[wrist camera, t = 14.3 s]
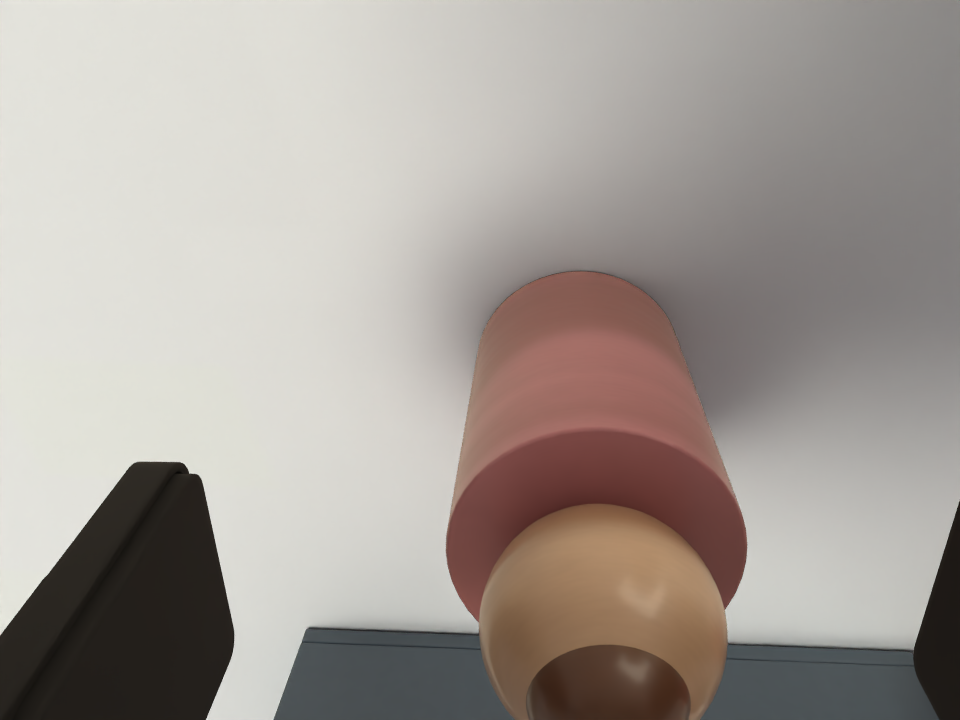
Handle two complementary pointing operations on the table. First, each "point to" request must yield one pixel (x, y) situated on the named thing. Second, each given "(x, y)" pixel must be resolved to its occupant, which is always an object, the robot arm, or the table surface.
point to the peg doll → (593, 510)
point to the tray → (481, 716)
